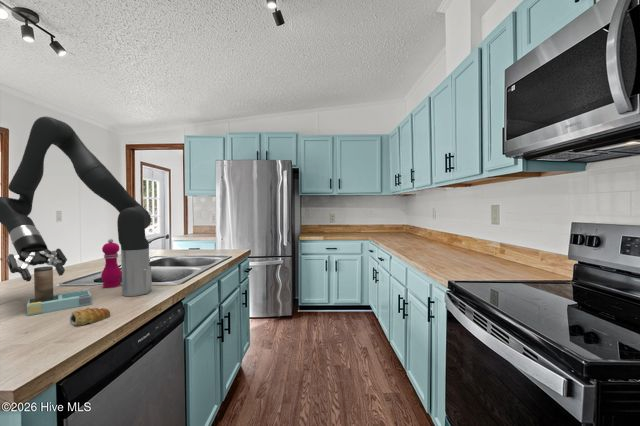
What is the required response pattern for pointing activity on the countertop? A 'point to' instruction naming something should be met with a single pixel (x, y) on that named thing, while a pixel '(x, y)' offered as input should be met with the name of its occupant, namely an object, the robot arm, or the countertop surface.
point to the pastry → (88, 316)
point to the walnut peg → (43, 284)
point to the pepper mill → (111, 265)
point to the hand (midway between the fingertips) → (46, 276)
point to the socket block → (59, 302)
